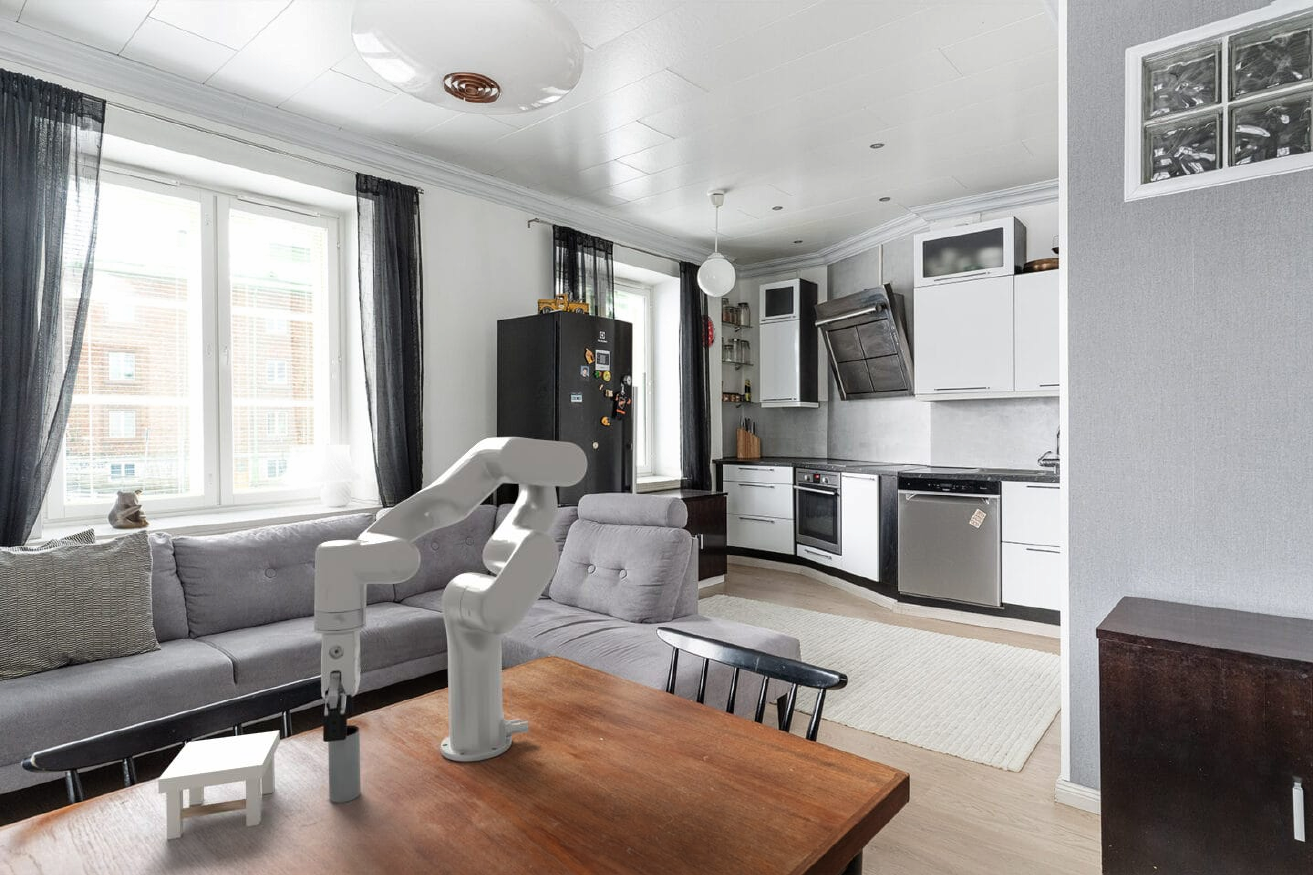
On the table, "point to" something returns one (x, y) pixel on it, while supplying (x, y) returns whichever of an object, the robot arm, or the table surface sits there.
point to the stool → (219, 776)
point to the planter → (345, 767)
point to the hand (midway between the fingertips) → (338, 728)
